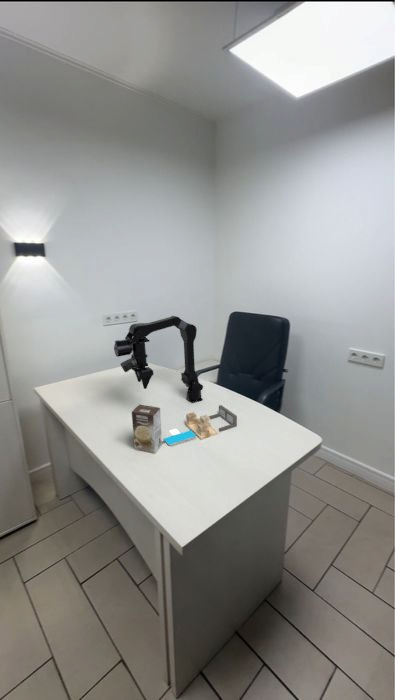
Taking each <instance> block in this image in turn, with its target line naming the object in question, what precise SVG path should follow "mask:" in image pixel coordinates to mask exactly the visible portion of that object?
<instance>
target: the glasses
mask: <svg viewBox="0 0 395 700" xmlns="http://www.w3.org/2000/svg"><path fill="white" fill-rule="evenodd" d="M207 416H208V417H210V420H213V419H216V418H221V419H223V420H224V421H225V422H226V423H227V424H228V425H224V426H221V427H219V428H218V431H219V432H220V433H221V432H224V431H227V430H230V429H232V428H235V427H237V426H238V422H237V421H238V420H237V419H238V415H237V414H235V413H234V412H232V411H230V409H228V408H227V407H225V406H223V405H222V404H220V405H218V413H216V414H215V413H214V414H212V415H207Z"/></svg>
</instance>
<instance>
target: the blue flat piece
mask: <svg viewBox="0 0 395 700" xmlns="http://www.w3.org/2000/svg"><path fill="white" fill-rule="evenodd" d="M168 432H169V433H170V435H171V436H170V435H169V436H167V437H164V438H163V440H162V445H164V444H166V445H168V446H170V448H171V447H172V448H173V447H174V446H177V445H181V444H184V443H188V442H190V441H195V440H197V436H196V435H195V434H194V433H193V432H192V431H191V430H190V429H189V430H187V431H184V432H180V431H179V429H177V428H172V429H170V430H168Z"/></svg>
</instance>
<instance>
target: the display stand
mask: <svg viewBox="0 0 395 700" xmlns="http://www.w3.org/2000/svg"><path fill="white" fill-rule="evenodd" d="M185 415H186V417H185V419H186V421H185V422H184V425H185V426H186V427H187V428H188V429H189V431H190V430H191V431H192V432H193V433H194V434H195V435H196V438H198V439H199V440H205V439H207V438H210V437H214V436H217V435H218V430H216V429H215V428H214V427H213V426H211V419H210V417H208V416H209V415H207V414H204V415H202V416H200V417H199V418H197V416H198V415H197V414H196V413H195V412H193V411H192V412H189V413H186V414H185Z"/></svg>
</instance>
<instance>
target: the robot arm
mask: <svg viewBox="0 0 395 700" xmlns="http://www.w3.org/2000/svg"><path fill="white" fill-rule="evenodd" d="M170 327H175V328H177V329H178V330H179V332H180V333H179V334H180V337H181V339H182V341H183V351H184V352H183V354H184V356H183V357H184V371H183V372H180V375H181V379H180V380H181V381H182V384H184V385H185V386H186V389H187V390H186V400H188V402H190V403H191V404H192V403H193V404H194V403H197V402H200V401H203V400H204V399H203V398H202V391H203V388H204V385H203V384H202V383H200V382H199V377H198V374H197V372H196V369H195V346H194V344H195V343H194V342H195V339H196V338H197V330H198V329H197V327H196V325H194V324H191V323H188V322H187V321H184V320H183V319H181V318H180V317H179V316H176V315H171V316H168V317H165V318H162V319H158V320H155V321H151V322H138V323H133V324H131V325H130V326H129V328H128V333H126V336H125V338H124V339H119V340H114V345H113V350H114V354H115V357H122V356H129V355H131V356H130V357H131V358H128V359H126V360H125V361H122V362H120V367H121V369H122V370H123V371H124V373H128V372H129V371H130V370H132V371H134V374H135V376H136V379H137V382H138V383H142V386H143V389H145V390H146V389H147V388H148V385H149V383H150V381H151V378H152V377H153V376H154V369H152V368H151V367H149V363H148V362H147V358H148V354H147V350H146V343H149V342H150V339H148V338H147V336H149V335H150V334H152V333H153V332H157V331H160V330H161V331H162V330H164V329H168V328H170Z"/></svg>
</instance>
